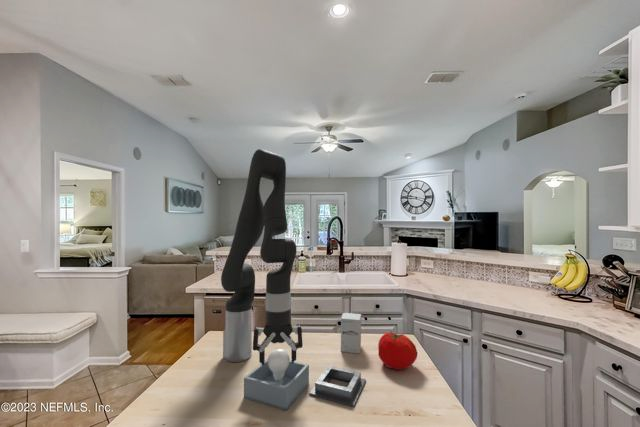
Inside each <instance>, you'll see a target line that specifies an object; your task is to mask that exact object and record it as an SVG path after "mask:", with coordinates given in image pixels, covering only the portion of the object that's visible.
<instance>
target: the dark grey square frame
mask: <svg viewBox="0 0 640 427" xmlns="http://www.w3.org/2000/svg"><path fill="white" fill-rule="evenodd" d="M331 379H333V380H335V381H336V380H337V381H341V382H344V383H349V384H348V385H347V386H342V385H338V384H333V383H330V381H331ZM366 382H367V379H366V378H362V372H361V371H357V370H356V371H355V370H351V369H346V368H342V367H337V366H333V365H328V366H327V367H326V368H325V369H324V371H323V372H322V373H321V375H320V376H319V377H318V379H316V381H315V383H314V386H313V387H312V389H311V390H310V392H309V393H308V394H309V396H311V397H315V398H319V399H323V400H327V401H330V402H333V403H338V404H341V405H346V406H349V407H353V408H354V407H355V406H356V404H357V401H358V399H359V396H360V395H361V393H362V390H363V388H364V386H365V384H366Z"/></svg>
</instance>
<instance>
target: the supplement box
mask: <svg viewBox="0 0 640 427" xmlns="http://www.w3.org/2000/svg"><path fill="white" fill-rule="evenodd" d="M361 346H362V314H361V313H350V312H343V313H342V315H341V318H340V352H341V353H342V352H344V353H351V354H360V352H361Z"/></svg>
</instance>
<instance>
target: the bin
mask: <svg viewBox="0 0 640 427" xmlns="http://www.w3.org/2000/svg"><path fill="white" fill-rule="evenodd" d="M283 381H284V382H283V384H284V385H283V386H281V385H277V384H274V377H273V373H272V371H271V370H270V368H269V366H268V358H267V359H266V360H265V363H264V365H262V363H259V365H258V366H257V367H255V368H254V369H253V370H252V371H250V372H248V374H247V375H245V376H244V377H243V398H244V399H247V400H249V401H250V400H251V401H254V402H257V403H260V404H263V405H266V406H269V407H272V408H276V409H280V410H283V411H288V410H289V408H290V407H291V405H293V403H294V402H295V401H296V400H297V399H298V397H299V396H300V394H301V393H303V391H304V389H306V387H307V386H308V385H309V383H310V364H308V363H304V362H303V363H302V362H300V361H299V362H298V361H294V363H292V362H291V360H290V362H289V366H288V368H287V369H286V371H285V375H284V379H283Z"/></svg>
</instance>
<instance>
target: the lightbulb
mask: <svg viewBox="0 0 640 427" xmlns="http://www.w3.org/2000/svg"><path fill="white" fill-rule="evenodd" d="M267 359H268V366H269V368H270V370H271V371H272V373H273V377H274V384H277V385H281V386H283V385H284V384H283V382H284V381H283V379H284V375H285V371H286V369H287V368H288V366H289V362H290V361H291V359H290V355H289V352H287V350H286V349H284V348H276V349H274V350H272V351H271V352H270V353H269V355H268V357H267Z"/></svg>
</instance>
